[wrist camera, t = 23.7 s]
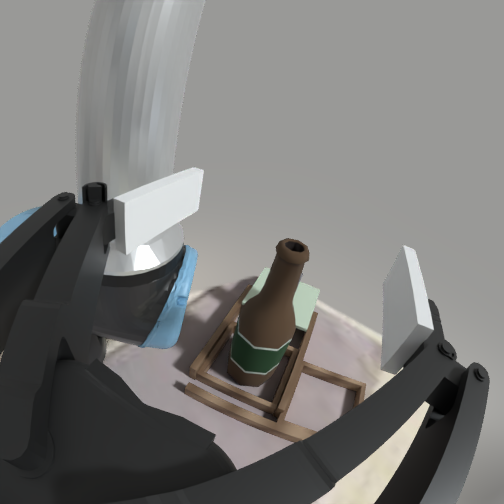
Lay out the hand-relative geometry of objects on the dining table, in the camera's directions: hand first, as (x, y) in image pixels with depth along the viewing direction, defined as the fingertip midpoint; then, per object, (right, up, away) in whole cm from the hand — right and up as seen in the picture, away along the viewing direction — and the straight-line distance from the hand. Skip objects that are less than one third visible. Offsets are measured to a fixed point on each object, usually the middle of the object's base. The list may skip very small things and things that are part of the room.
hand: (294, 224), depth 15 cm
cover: (+4, -10, +38) cm, 40 cm away
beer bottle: (-3, -21, +27) cm, 34 cm away
